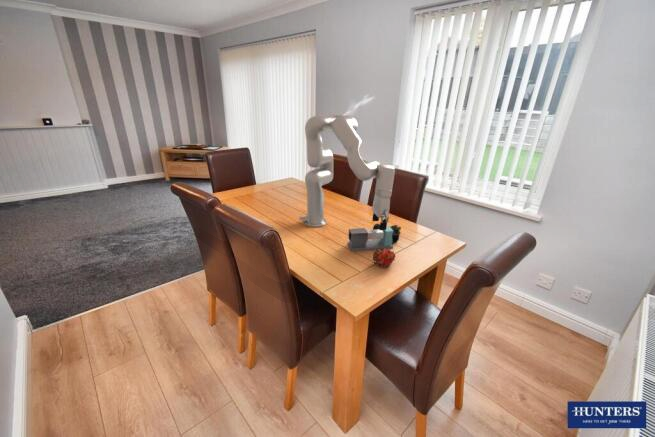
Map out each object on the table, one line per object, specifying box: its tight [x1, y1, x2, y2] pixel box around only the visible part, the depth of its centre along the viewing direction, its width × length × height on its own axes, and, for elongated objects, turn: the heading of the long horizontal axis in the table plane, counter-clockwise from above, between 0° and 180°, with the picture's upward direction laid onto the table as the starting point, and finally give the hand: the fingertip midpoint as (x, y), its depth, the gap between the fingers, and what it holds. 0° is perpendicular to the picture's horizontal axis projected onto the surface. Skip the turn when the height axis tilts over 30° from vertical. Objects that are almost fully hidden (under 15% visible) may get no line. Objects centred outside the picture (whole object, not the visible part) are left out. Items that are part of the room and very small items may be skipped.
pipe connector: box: [372, 223, 402, 244], centre depth 147 cm, size 12×5×15 cm
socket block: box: [380, 225, 394, 246], centre depth 136 cm, size 4×6×8 cm, turn 11°
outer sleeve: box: [348, 227, 368, 248], centre depth 134 cm, size 8×5×8 cm, turn 101°
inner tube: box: [366, 229, 385, 240], centre depth 135 cm, size 15×4×4 cm, turn 101°
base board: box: [346, 239, 394, 253], centre depth 137 cm, size 21×8×1 cm, turn 101°
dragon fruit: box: [372, 248, 396, 268], centre depth 121 cm, size 8×8×12 cm
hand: (378, 225), depth 134 cm, fingers open, 9 cm apart
